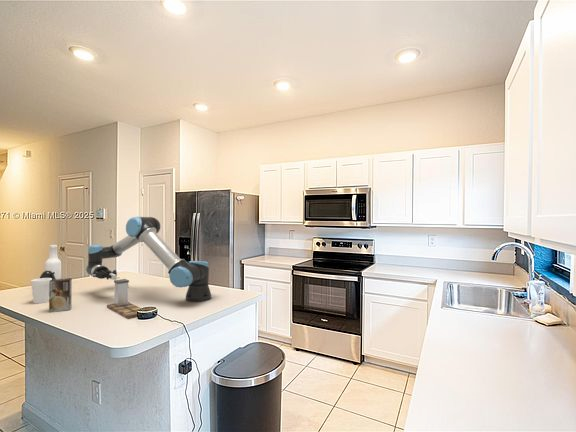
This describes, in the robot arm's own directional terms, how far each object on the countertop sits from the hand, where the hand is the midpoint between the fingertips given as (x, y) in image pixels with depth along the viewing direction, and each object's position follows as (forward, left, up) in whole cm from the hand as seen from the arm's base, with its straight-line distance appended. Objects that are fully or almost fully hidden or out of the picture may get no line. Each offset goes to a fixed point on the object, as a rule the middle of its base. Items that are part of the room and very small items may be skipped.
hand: (115, 277), depth 172 cm
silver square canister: (-6, +7, -14) cm, 16 cm away
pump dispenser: (+50, -28, -16) cm, 60 cm away
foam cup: (+43, -10, -16) cm, 47 cm away
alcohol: (+55, -43, -16) cm, 72 cm away
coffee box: (+24, +7, -16) cm, 30 cm away
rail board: (-11, +13, -15) cm, 23 cm away
